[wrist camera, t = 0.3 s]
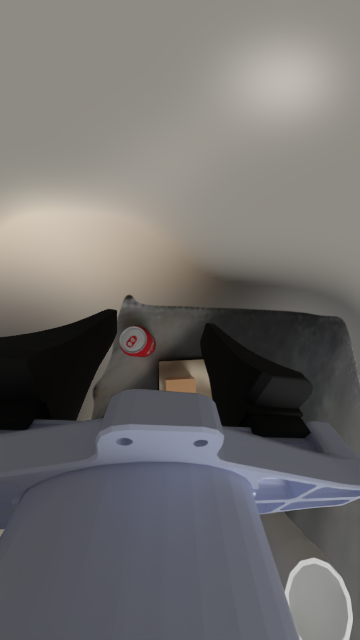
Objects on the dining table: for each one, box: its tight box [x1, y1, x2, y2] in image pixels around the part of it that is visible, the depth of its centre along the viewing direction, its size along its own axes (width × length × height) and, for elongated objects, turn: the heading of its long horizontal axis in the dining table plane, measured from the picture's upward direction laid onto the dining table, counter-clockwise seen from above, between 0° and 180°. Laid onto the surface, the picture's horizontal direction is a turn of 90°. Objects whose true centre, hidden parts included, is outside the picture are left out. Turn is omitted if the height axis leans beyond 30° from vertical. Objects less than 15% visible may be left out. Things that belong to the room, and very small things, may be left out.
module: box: [166, 375, 196, 393], centre depth 34 cm, size 4×6×6 cm
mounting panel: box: [159, 360, 212, 399], centre depth 35 cm, size 17×24×6 cm
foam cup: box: [260, 511, 353, 640], centre depth 26 cm, size 10×9×13 cm
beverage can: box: [120, 326, 156, 357], centre depth 34 cm, size 6×6×12 cm
